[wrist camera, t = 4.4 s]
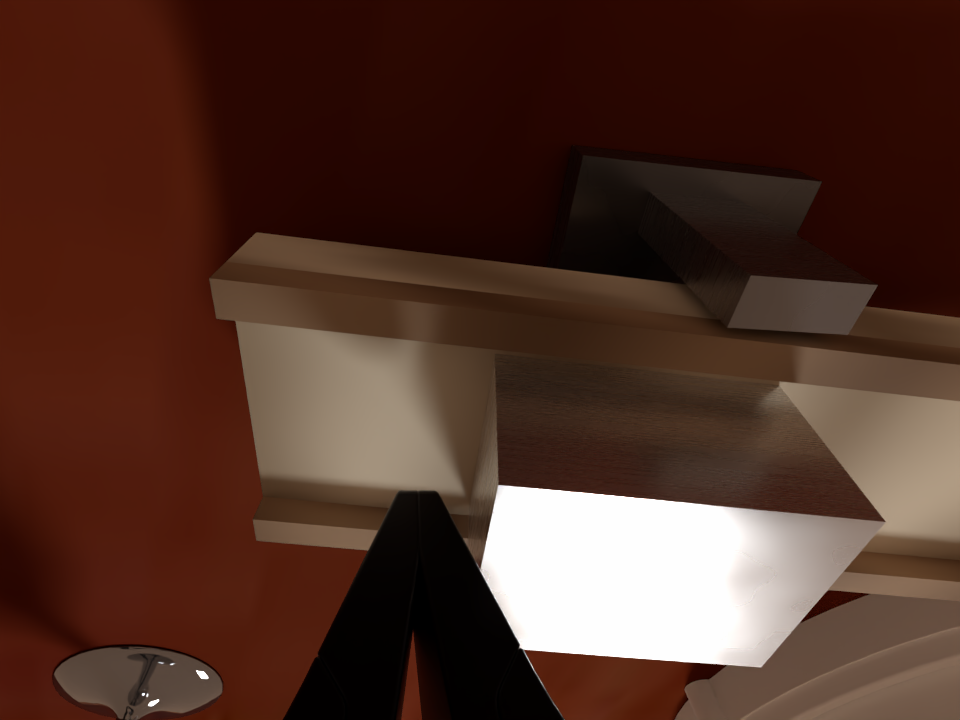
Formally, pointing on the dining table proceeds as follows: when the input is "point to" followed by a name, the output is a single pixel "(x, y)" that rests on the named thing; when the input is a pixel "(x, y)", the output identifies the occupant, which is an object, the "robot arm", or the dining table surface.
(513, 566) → the steel block
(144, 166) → the dining table surface
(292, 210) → the dining table surface
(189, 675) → the wine glass
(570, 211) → the pivot stand
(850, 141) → the dining table surface
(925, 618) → the dome cover
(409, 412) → the beam
